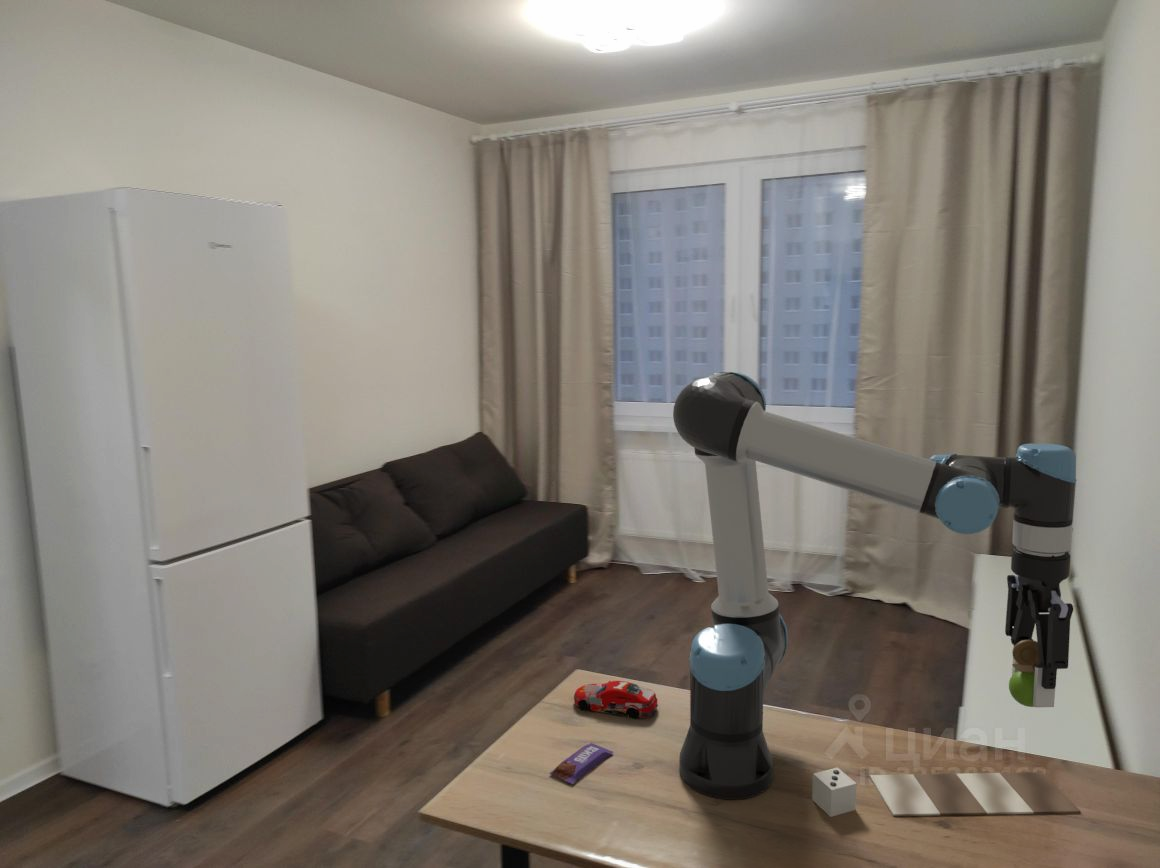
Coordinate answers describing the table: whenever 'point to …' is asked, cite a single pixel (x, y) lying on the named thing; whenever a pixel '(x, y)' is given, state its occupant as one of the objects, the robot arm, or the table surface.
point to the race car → (617, 699)
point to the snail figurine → (1024, 672)
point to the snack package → (580, 762)
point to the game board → (971, 794)
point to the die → (834, 791)
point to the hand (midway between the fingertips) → (1032, 695)
